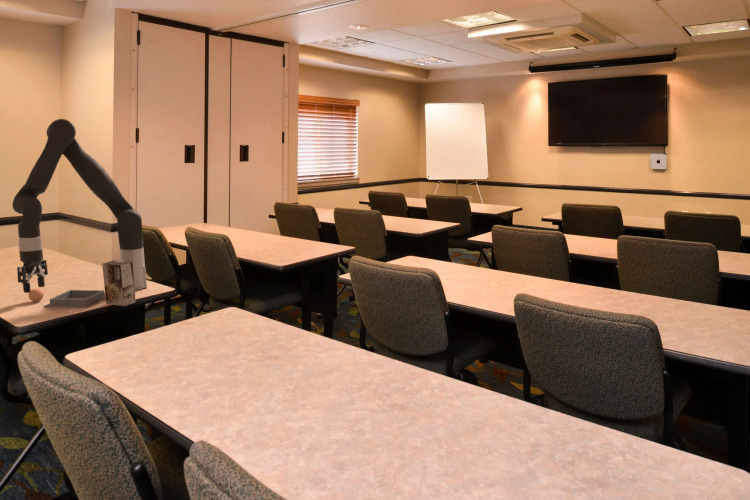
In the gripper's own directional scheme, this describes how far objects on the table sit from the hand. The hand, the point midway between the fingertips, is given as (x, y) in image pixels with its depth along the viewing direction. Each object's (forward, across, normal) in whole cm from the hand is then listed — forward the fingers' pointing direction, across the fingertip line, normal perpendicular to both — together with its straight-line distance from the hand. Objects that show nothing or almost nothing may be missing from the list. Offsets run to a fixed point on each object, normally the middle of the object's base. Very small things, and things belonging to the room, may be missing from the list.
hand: (34, 289), depth 214 cm
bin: (+4, 0, +17) cm, 17 cm away
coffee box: (+4, 0, +34) cm, 34 cm away
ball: (+2, 0, +1) cm, 2 cm away
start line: (+4, 0, +9) cm, 10 cm away
